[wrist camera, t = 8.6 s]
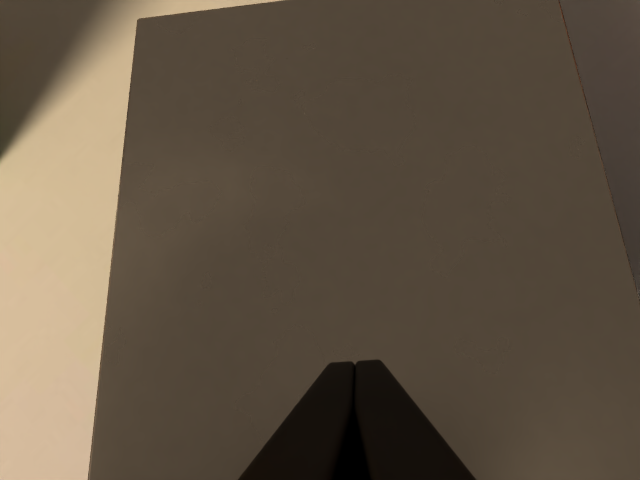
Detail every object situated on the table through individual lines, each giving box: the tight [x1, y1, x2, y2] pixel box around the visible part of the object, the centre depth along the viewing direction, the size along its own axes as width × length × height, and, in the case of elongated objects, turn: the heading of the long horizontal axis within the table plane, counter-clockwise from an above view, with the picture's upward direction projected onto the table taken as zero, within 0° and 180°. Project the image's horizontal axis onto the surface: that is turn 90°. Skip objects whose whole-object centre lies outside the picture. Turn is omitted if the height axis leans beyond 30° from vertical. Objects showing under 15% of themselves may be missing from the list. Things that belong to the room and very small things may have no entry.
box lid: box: [88, 0, 640, 480], centre depth 13 cm, size 13×12×1 cm
